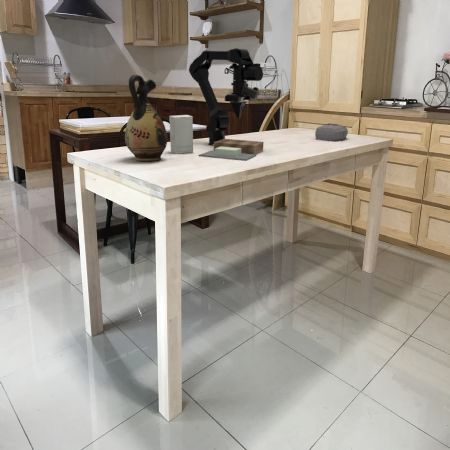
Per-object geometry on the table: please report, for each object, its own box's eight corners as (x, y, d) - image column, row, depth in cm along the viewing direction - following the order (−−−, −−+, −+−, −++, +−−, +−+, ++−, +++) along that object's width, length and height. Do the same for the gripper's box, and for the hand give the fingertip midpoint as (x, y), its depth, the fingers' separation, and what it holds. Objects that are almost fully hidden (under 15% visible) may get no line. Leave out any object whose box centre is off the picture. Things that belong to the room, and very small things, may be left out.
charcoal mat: (198, 156, 167) (198, 154, 167) (211, 151, 178) (211, 150, 177) (246, 160, 160) (246, 159, 160) (256, 155, 171) (256, 154, 170)
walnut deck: (213, 151, 178) (213, 142, 176) (224, 147, 188) (224, 138, 187) (254, 155, 171) (254, 145, 170) (263, 151, 182) (263, 141, 180)
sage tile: (220, 146, 172) (220, 152, 173) (214, 148, 167) (214, 154, 168) (241, 148, 169) (241, 154, 170) (235, 150, 164) (235, 156, 164)
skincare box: (188, 150, 179) (188, 114, 174) (193, 153, 174) (193, 115, 169) (169, 151, 175) (168, 115, 170) (174, 154, 170) (173, 116, 165)
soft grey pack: (337, 142, 213) (352, 138, 229) (339, 125, 211) (354, 123, 226) (310, 139, 222) (326, 136, 237) (311, 123, 219) (327, 120, 234)
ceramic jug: (144, 154, 168) (141, 74, 158) (176, 158, 161) (174, 75, 151) (114, 160, 154) (108, 73, 144) (146, 165, 147) (143, 74, 137)
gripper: (250, 80, 168) (248, 120, 174) (264, 81, 185) (262, 117, 190) (224, 80, 172) (223, 119, 177) (240, 80, 189) (239, 116, 194)
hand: (238, 118), depth 185 cm, fingers closed
